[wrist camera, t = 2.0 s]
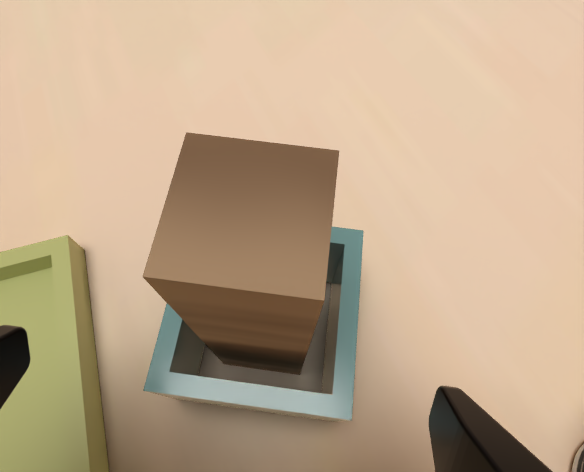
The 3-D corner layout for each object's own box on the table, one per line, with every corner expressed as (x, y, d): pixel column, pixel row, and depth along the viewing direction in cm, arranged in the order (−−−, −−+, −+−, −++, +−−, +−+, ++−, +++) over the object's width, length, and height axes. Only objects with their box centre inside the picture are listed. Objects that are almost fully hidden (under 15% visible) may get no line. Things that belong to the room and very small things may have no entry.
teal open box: (334, 421, 18) (351, 419, 13) (176, 399, 18) (143, 390, 14) (346, 271, 21) (363, 230, 16) (210, 254, 21) (192, 209, 17)
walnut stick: (299, 374, 19) (324, 300, 8) (224, 364, 19) (142, 276, 8) (308, 300, 20) (339, 151, 9) (238, 291, 20) (186, 132, 9)
